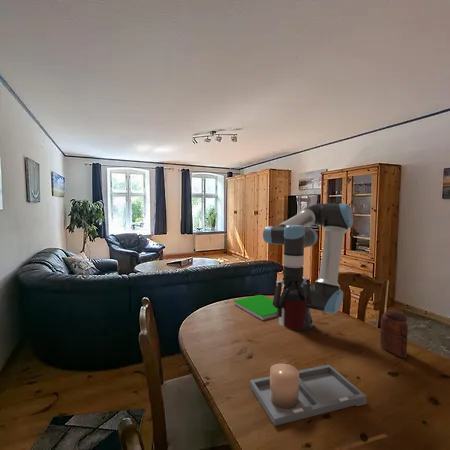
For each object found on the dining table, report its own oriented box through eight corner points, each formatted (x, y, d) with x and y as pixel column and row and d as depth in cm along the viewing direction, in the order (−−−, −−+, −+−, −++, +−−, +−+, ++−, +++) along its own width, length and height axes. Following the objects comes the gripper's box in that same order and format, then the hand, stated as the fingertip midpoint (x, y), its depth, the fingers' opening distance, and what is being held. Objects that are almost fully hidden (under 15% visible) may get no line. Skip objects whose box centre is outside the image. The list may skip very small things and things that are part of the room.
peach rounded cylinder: (289, 387, 95) (289, 361, 94) (304, 405, 87) (305, 377, 86) (264, 392, 92) (265, 366, 92) (277, 411, 84) (278, 382, 83)
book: (262, 321, 150) (262, 316, 150) (233, 305, 174) (233, 300, 174) (292, 313, 162) (292, 308, 162) (261, 298, 186) (261, 294, 186)
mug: (273, 319, 113) (274, 292, 112) (292, 316, 116) (292, 290, 115) (291, 332, 102) (291, 302, 101) (311, 328, 105) (312, 300, 104)
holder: (328, 371, 105) (329, 363, 105) (366, 403, 88) (366, 395, 88) (249, 387, 96) (249, 379, 95) (274, 427, 79) (274, 418, 78)
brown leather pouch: (412, 355, 116) (415, 313, 115) (403, 359, 113) (406, 316, 112) (384, 343, 127) (386, 304, 125) (375, 346, 124) (377, 306, 122)
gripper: (311, 262, 114) (309, 316, 116) (263, 265, 108) (262, 322, 109) (323, 266, 107) (321, 323, 109) (272, 269, 100) (271, 330, 102)
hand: (291, 323), depth 109 cm, fingers closed on mug, 8 cm apart
